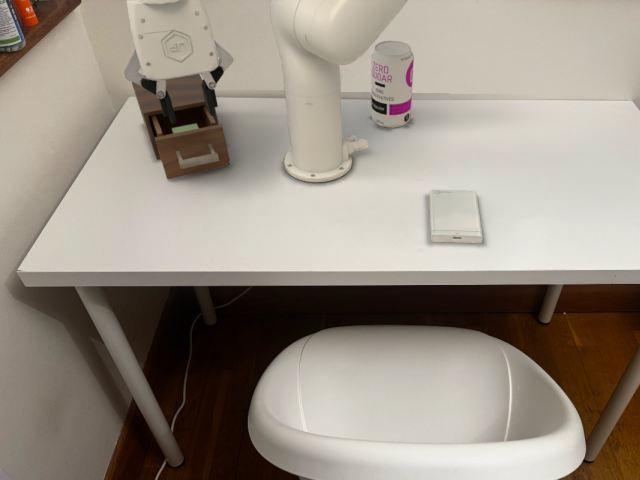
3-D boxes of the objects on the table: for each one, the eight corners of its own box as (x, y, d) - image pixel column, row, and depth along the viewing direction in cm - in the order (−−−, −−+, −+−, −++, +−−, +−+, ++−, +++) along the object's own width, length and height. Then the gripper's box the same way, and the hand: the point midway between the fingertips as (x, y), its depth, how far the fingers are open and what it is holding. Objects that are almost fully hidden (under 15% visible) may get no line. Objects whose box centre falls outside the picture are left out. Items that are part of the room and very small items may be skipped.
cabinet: (223, 146, 110) (213, 99, 104) (156, 160, 106) (142, 112, 100) (206, 112, 120) (196, 68, 113) (144, 124, 116) (130, 79, 109)
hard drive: (429, 189, 98) (431, 234, 89) (476, 190, 98) (483, 235, 89) (428, 197, 99) (431, 242, 91) (475, 198, 99) (482, 243, 91)
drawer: (237, 179, 101) (230, 140, 95) (172, 194, 97) (160, 154, 92) (213, 131, 112) (205, 94, 107) (154, 143, 109) (143, 105, 103)
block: (201, 144, 107) (196, 123, 103) (207, 156, 104) (201, 134, 101) (177, 150, 105) (171, 128, 102) (182, 162, 102) (176, 139, 99)
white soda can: (412, 112, 121) (416, 41, 111) (407, 131, 115) (410, 58, 105) (375, 108, 122) (376, 37, 112) (368, 127, 116) (367, 54, 106)
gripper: (90, 0, 66) (135, 139, 79) (234, -18, 71) (255, 115, 84) (84, -19, 71) (128, 115, 83) (220, -34, 76) (241, 94, 89)
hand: (191, 114), depth 84 cm, fingers open, 5 cm apart
